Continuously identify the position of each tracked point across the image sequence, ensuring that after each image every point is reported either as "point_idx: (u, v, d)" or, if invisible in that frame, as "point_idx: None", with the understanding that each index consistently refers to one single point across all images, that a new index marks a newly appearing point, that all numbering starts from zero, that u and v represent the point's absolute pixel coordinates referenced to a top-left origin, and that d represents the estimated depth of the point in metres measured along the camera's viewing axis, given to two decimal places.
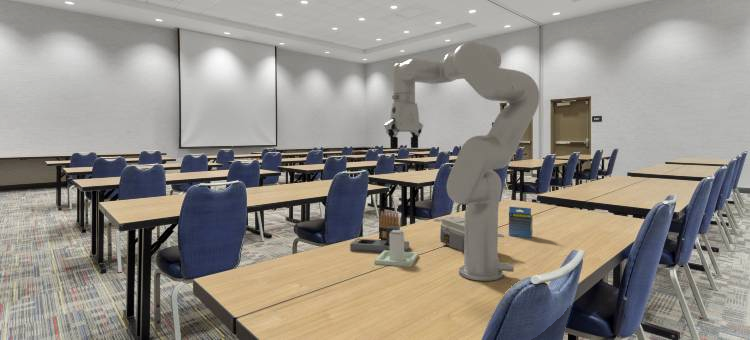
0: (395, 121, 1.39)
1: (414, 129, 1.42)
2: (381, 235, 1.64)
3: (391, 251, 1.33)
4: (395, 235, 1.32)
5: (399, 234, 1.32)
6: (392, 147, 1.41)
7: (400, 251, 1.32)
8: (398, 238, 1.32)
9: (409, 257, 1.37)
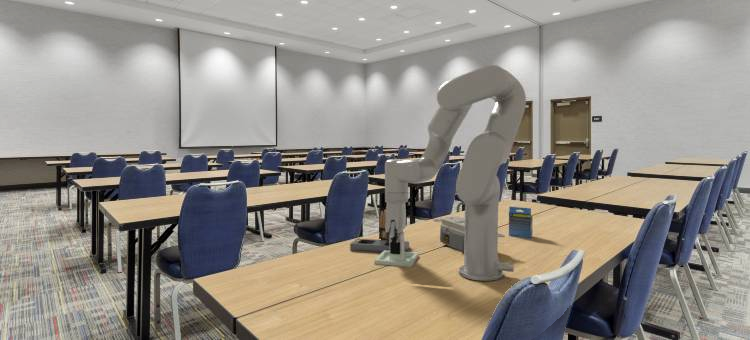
0: None
1: None
2: (381, 235, 1.64)
3: None
4: None
5: (399, 234, 1.32)
6: None
7: (400, 251, 1.32)
8: None
9: (409, 257, 1.37)
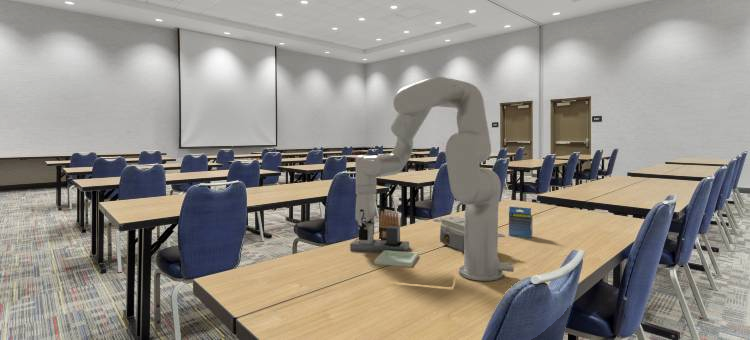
0: None
1: None
2: (381, 235, 1.64)
3: (361, 242, 1.47)
4: None
5: (368, 227, 1.46)
6: None
7: (369, 242, 1.46)
8: None
9: (409, 257, 1.37)
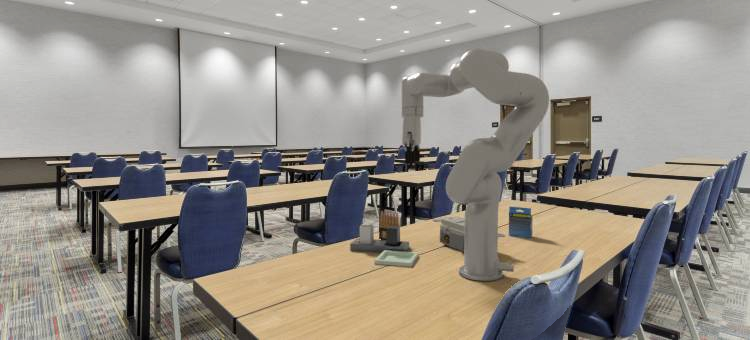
0: None
1: (403, 143, 1.41)
2: (381, 235, 1.64)
3: (361, 242, 1.47)
4: (364, 227, 1.47)
5: (368, 227, 1.46)
6: None
7: (369, 242, 1.46)
8: (367, 230, 1.46)
9: (409, 257, 1.37)
